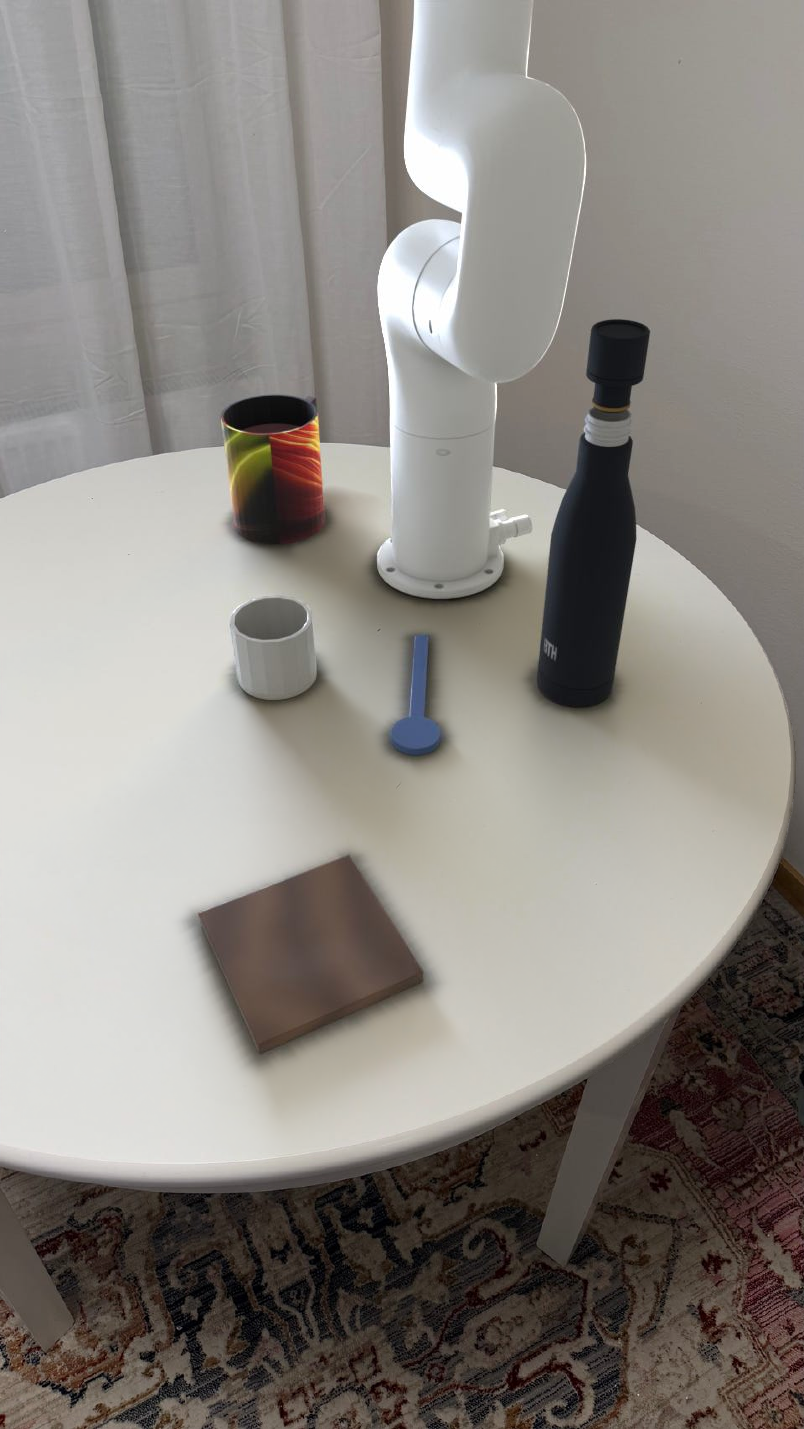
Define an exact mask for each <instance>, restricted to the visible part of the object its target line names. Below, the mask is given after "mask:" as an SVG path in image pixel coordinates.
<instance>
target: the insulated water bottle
mask: <svg viewBox="0 0 804 1429" xmlns="http://www.w3.org/2000/svg"><path fill="white" fill-rule="evenodd" d="M650 334H651V330H650V328H649V327H648V326H647V325H645V324H644V323H641V322H639V321H635V320H630V319H623V318H621V319H620V318H617V319H615V318H614V319H613V318H612V319H604V320H600V321H598V322H596V323H594V324H592V327H591V329H590V336H589V345H588V353H587V354H588V355H587V363H586V371H585V376H586V379H588V380H589V381H590V382H592V383H594V390H593V396H592V399H591V405H592V406H591V407H590V408H589V409H588V411H587V415H585V417H584V423H585V425H584V427H583V433H582V434H580V436H579V443H578V449H577V450H578V451H577V459H576V467H575V472H574V474H573V476H572V478H571V481H570V482H569V484H568V486H567V488H566V490H565V491H564V492H565V493H564V494H563V497H562V499H561V502H560V504H559V507H558V511H557V513H556V517H555V519H554V523H553V527H552V530H551V533H550V544H549V552H548V561H547V562H548V563H547V564H548V565H547V574H546V584H545V595H544V603H543V604H544V605H543V614H542V623H541V624H542V625H541V634H540V643H539V653H538V663H537V664H538V665H537V672H536V674H537V675H536V683H537V688H538V689H539V691H540V692H541V693H542V695H543V696H544V697H546V698H547V699H548V700H550V701H551V702H553V703H555V704H558V705H561V706H564V707H565V706H566V707H571V708H588V707H592V706H596V705H599V704H600V703H602V702H604V701H606V700H607V699H608V697H609V696H610V695H611V694H612V692H613V687H614V679H615V674H616V668H617V661H618V656H619V649H620V644H621V638H622V630H623V624H624V619H625V612H626V606H627V601H628V594H629V588H630V583H631V582H630V581H631V575H632V571H633V570H632V569H633V564H634V563H633V562H634V556H635V552H636V545H637V516H636V515H637V514H636V506H635V501H634V496H633V491H632V487H631V486H632V485H631V482H630V476H629V472H630V466H631V458H632V451H633V443H634V440H633V438H632V436H631V435H632V432H633V430H632V426H633V423H634V421H633V418H632V412H631V411H630V410H629V409H630V407H631V404H632V401H631V396H632V389H633V386H636V385H638V384H640V383H641V382H643V380H644V376H645V369H646V363H647V355H648V350H649V343H650V336H651V335H650Z"/></svg>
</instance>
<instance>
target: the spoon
mask: <svg viewBox="0 0 804 1429" xmlns="http://www.w3.org/2000/svg"><path fill="white" fill-rule="evenodd" d="M413 644H414V646H413V659H412V674H411V686H410V688H411V690H410V704H409V716H407V717H403V718H401V719H399V720H397V721H396V722H395V723H394V724H393V725H392V727H391V729H390V742H391V744H392V746H393V747H394V748H395V749H396V750H398V751H399V752H400V753H403V754H406V755H408V756H409V755H410V756H422V755H426V754H429V753H432V752H433V751H434V750H437V748H439V745H440V743H441V741H442V740H441V739H442V730H441V728H440V726H439V725H438V723H437V722H435V721H434V720H432V719H431V718H428V717H425V714H426V713H425V712H426V711H425V710H426V692H427V673H428V654H429V653H428V652H429V634H415V635H414V643H413Z"/></svg>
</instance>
